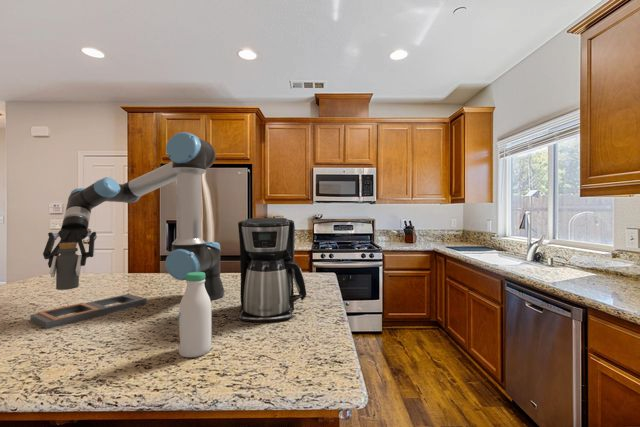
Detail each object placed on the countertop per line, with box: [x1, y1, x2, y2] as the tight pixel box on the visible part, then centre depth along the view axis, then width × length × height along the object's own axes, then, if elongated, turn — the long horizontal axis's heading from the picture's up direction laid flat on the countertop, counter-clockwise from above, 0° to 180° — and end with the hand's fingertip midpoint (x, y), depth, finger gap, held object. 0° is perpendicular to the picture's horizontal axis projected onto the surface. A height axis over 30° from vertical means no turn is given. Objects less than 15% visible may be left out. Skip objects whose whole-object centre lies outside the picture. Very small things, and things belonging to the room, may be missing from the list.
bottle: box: [55, 242, 80, 291], centre depth 102 cm, size 6×6×15 cm
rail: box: [29, 293, 147, 330], centre depth 107 cm, size 13×30×2 cm, turn 149°
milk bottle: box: [178, 272, 212, 358], centre depth 77 cm, size 8×8×20 cm
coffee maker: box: [237, 217, 307, 323], centre depth 112 cm, size 23×32×34 cm
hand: (65, 273), depth 98 cm, fingers closed on bottle, 6 cm apart
